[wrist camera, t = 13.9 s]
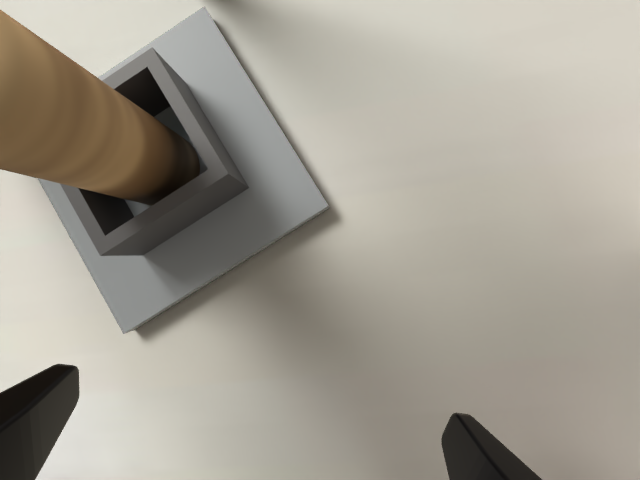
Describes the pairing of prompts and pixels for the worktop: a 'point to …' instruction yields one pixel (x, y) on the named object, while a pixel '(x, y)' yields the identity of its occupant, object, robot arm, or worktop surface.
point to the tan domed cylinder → (81, 126)
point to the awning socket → (200, 193)
